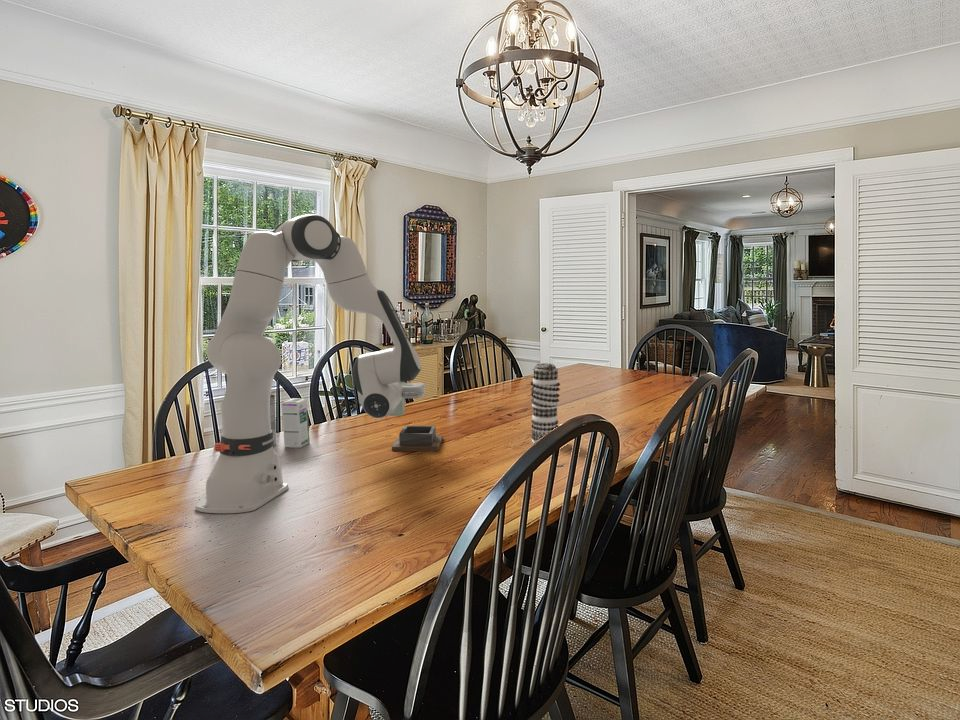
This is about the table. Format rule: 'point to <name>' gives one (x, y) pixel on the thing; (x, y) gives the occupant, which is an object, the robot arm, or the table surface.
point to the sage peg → (399, 408)
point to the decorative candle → (544, 400)
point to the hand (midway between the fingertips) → (395, 385)
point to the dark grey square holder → (418, 439)
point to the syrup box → (295, 422)
